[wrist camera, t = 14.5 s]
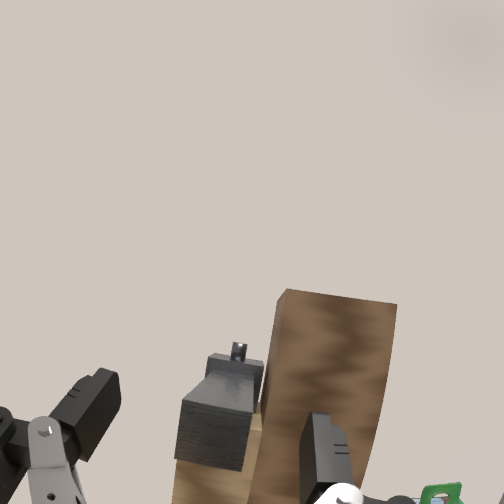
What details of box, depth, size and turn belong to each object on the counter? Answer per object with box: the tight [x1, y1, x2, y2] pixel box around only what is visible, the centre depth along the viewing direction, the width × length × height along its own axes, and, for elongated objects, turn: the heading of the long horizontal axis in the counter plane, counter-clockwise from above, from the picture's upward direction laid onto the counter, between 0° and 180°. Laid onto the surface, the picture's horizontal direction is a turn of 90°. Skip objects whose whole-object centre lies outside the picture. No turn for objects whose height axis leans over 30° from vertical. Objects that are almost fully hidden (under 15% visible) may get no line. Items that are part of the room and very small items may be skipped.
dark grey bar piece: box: [174, 342, 264, 472], centre depth 23 cm, size 5×18×6 cm, turn 0°
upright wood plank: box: [172, 289, 397, 504], centre depth 25 cm, size 15×10×32 cm, turn 90°
